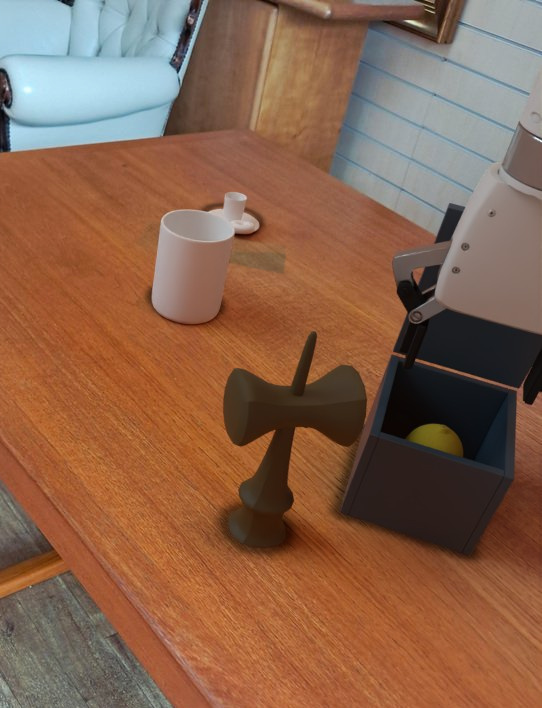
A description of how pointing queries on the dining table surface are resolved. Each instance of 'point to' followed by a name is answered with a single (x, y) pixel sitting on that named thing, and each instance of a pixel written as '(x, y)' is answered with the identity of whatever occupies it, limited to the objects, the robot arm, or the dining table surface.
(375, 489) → the chest
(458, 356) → the lid
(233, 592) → the dining table surface
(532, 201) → the robot arm
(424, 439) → the lemon
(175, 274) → the mug
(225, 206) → the teacup and saucer
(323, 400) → the kendama
